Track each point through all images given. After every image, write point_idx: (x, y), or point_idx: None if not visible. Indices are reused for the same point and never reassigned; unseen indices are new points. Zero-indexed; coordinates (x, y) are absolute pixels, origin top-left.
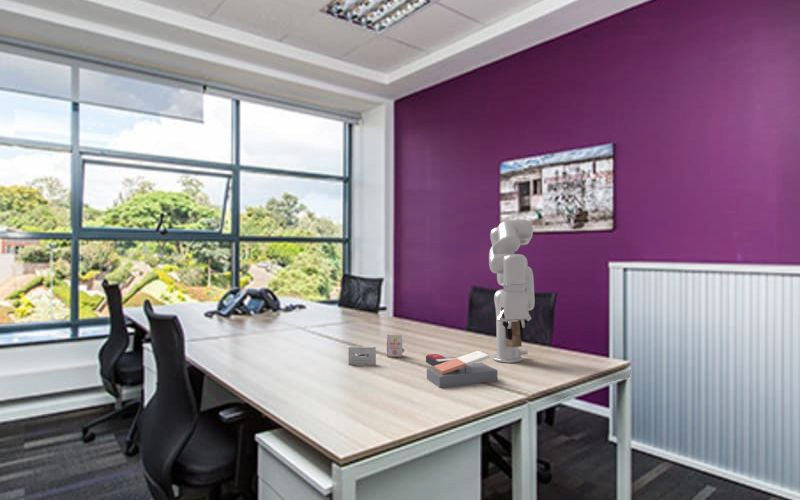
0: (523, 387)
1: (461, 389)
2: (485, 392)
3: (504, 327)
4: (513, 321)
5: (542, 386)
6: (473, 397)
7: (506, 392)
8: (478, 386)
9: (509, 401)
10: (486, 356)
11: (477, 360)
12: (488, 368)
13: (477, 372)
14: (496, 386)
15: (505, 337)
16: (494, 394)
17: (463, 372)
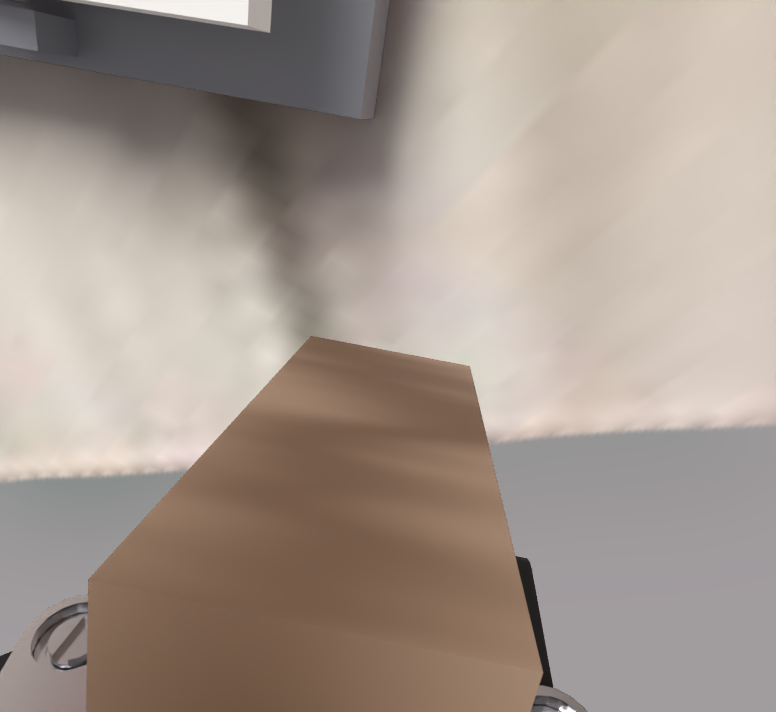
0: (426, 345)
1: (12, 152)
2: (140, 290)
3: (73, 598)
4: None
5: (551, 394)
6: (32, 321)
7: (262, 357)
8: (156, 160)
9: (189, 463)
10: (218, 21)
11: (107, 6)
12: (319, 7)
13: (141, 79)
14: (276, 231)
15: (272, 379)
16: (174, 346)
17: (11, 2)
